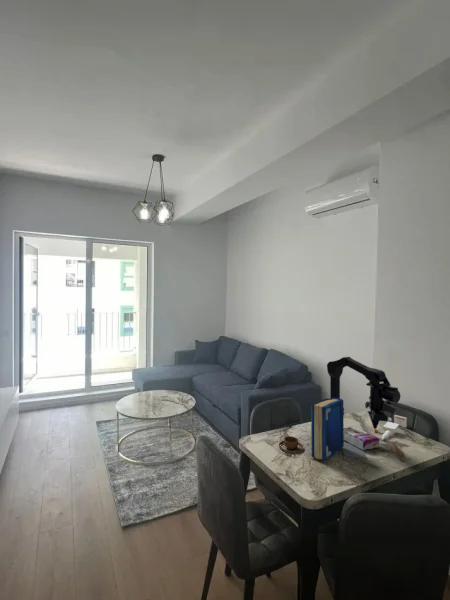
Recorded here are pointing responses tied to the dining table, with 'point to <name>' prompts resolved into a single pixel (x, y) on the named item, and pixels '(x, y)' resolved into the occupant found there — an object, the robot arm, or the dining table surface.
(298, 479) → the dining table surface
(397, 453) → the back rail
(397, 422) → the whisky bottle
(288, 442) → the brown cup and saucer
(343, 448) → the mat
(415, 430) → the dining table surface
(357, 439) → the candy bar box
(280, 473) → the dining table surface
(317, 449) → the book
